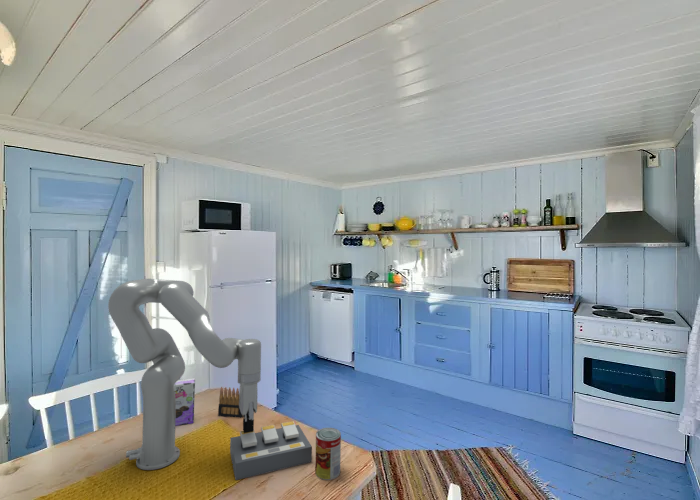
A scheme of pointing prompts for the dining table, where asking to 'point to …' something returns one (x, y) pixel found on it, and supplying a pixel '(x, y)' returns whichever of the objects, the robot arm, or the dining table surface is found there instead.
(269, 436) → the rocker middle
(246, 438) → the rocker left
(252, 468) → the switch unit
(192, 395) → the candy box
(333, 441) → the canned food
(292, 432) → the rocker right
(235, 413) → the ammunition clip
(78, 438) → the dining table surface
